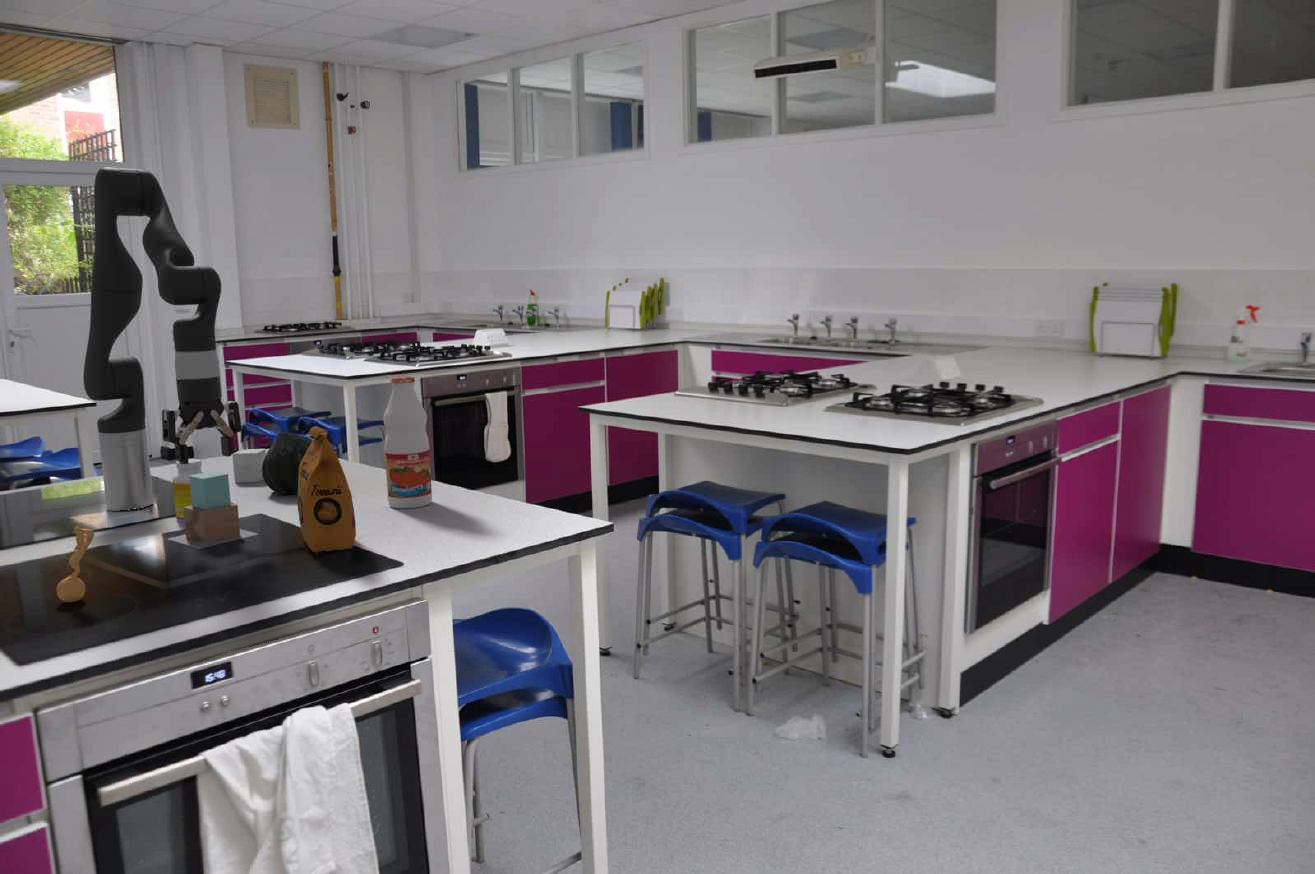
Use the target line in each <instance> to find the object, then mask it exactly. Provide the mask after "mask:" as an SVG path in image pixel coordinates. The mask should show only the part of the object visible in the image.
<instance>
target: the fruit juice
mask: <svg viewBox="0 0 1315 874" xmlns="http://www.w3.org/2000/svg"><path fill="white" fill-rule="evenodd" d="M415 382H416V381H415V376H413V375H401V376H400V375H398V376H393V377H391V378H390V383H391V386H392V390H391V391H392V392H391V394H390V397H389V401H388V404H387V407H386V409H385V411H384V414H383V425H384V427H385V430H386V434H385V438H384V460H385V470H386V471H385V474H386V488H387V489H386V491H387V501H388V502H387V503H388V505H389V507H391V508H392V509H393V508H394V509H415V508H416V509H417V508H421V507H427V506H428V505H430V504H431V503H432V501H433V492H432V476H431V475H432V474H431V473H432V471H431V459H430V457H431V456H430V455H431V454H430V442H429V436H428V433H427V432H426V425H427V422H428V421H427V420H428V418H427V417H428V416H427V412H426V410H425V408H424V407H423V406H422V403H421V402H420V399H419V397H418V395H417V392H416V389H415V387H414V385H415Z"/></svg>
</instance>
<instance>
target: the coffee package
mask: <svg viewBox="0 0 1315 874" xmlns="http://www.w3.org/2000/svg"><path fill="white" fill-rule="evenodd" d="M309 436H310V437H313V439H312V440H313V441H312V443H311V445H310V446H309V448H308V450H307V451H306V453H305V455H304V457H303V459H302V461H301V463H300V465H299V477H298V494H297V512H298V519H299V526H300V531H301V535H302V538H303V539H304V542H305V543H306V545H307V546H308V548H309V549H310V550H311V551H312V552H313V553H314V552H316V551H322V550H339V549H344V548H348V547H352V546H354V547H355V541H356V536H357V532H356V531H357V529H356V518H355V517H356V516H355V509H354V503H353V502H354V501H353V496H352V495H353V494H352V493H351V492H352V491H351V490H350V486H349V484H348V479H347V478H346V475H345V472H344V469H343V467H342V464H341V462H340V458H339V457H338V456H339V455H338V453H337V451H336V450H335V447H333V445H332V444H331V442H330V441H329V440H328V439H327V437H328V431H327V430H326V429H323V428H321V427H319V426H317V425H315V426H312V427H311V428H310V429H309Z"/></svg>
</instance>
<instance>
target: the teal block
mask: <svg viewBox="0 0 1315 874" xmlns="http://www.w3.org/2000/svg"><path fill="white" fill-rule="evenodd" d="M229 479H230V478H229V474H228V473H225V472H220V471H215V470H213V471H207V472H205V473H202V474H196V475H191V476H189V481H190V491H191V501H192V507H196V508H200V509H204V510H209V509H214V508H218V507H223V506H228V505H231V503H232V502H231V501H232V500H231V492H230V481H229Z"/></svg>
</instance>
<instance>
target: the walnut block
mask: <svg viewBox="0 0 1315 874" xmlns="http://www.w3.org/2000/svg"><path fill="white" fill-rule="evenodd" d="M183 512H184V521H183V522H184V529H185V534H186V538H188V539H192V540H195V541H199V542H202V543H209V542H213V541H218V540H222V539H226V538H230V537H234V536H238V535H240V529H241V528H240V518H239V506H238V504H235V503H232V502H231V505H228V506H223V507H218V508H214V509H209V510H204V509H200V508H196V507H192V505H191V506H187V507H183Z"/></svg>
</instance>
